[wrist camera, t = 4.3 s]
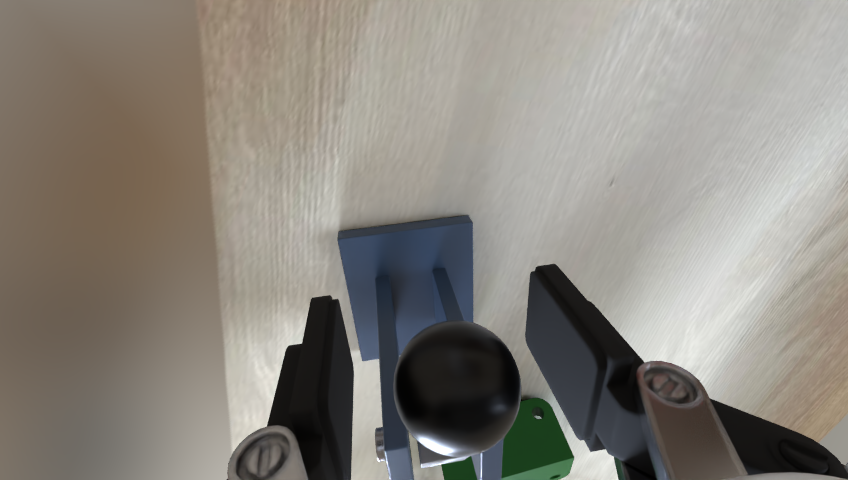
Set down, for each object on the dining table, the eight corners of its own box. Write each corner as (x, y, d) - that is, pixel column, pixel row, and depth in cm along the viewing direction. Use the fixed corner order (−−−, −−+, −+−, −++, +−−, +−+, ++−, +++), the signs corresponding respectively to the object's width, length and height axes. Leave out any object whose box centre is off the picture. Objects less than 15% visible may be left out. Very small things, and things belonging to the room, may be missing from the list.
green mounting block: (452, 409, 42) (437, 505, 36) (444, 386, 38) (427, 489, 32) (565, 425, 39) (571, 534, 33) (570, 402, 35) (578, 520, 29)
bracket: (338, 230, 25) (316, 404, 13) (468, 214, 26) (559, 364, 14) (362, 350, 31) (361, 553, 18) (470, 333, 31) (536, 517, 19)
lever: (382, 310, 9) (398, 465, 7) (511, 291, 9) (558, 435, 7) (403, 408, 20) (411, 479, 18) (462, 398, 20) (476, 467, 18)
